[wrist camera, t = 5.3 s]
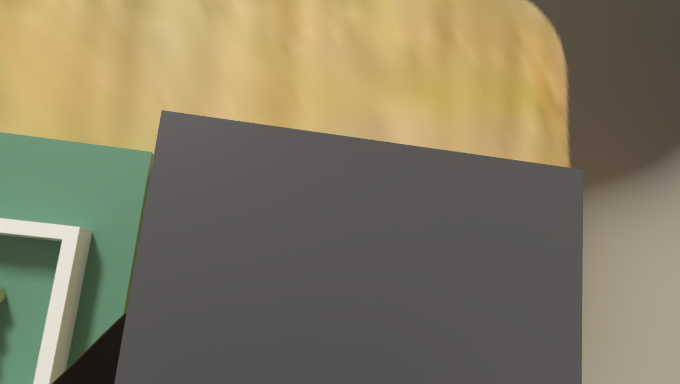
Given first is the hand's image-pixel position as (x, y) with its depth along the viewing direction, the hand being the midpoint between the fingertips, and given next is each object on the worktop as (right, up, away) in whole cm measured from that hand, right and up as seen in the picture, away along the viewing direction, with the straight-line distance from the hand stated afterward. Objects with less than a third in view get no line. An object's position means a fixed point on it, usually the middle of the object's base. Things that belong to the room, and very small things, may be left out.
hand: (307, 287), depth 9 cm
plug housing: (-1, -3, +6) cm, 7 cm away
